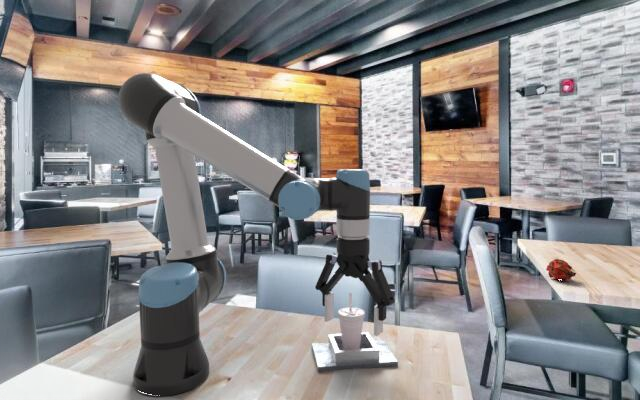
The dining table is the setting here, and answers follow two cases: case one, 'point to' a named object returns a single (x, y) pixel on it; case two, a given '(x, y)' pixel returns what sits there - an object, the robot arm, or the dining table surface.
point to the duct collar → (352, 354)
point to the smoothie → (351, 326)
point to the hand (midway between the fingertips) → (352, 326)
